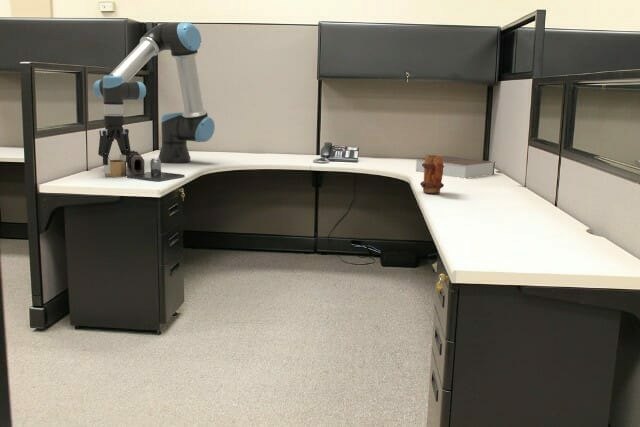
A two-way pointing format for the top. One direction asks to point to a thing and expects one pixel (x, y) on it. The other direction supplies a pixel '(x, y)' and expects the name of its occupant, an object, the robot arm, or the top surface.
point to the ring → (117, 168)
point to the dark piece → (155, 173)
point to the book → (461, 167)
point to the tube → (135, 162)
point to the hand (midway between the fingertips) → (115, 171)
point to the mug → (432, 174)
